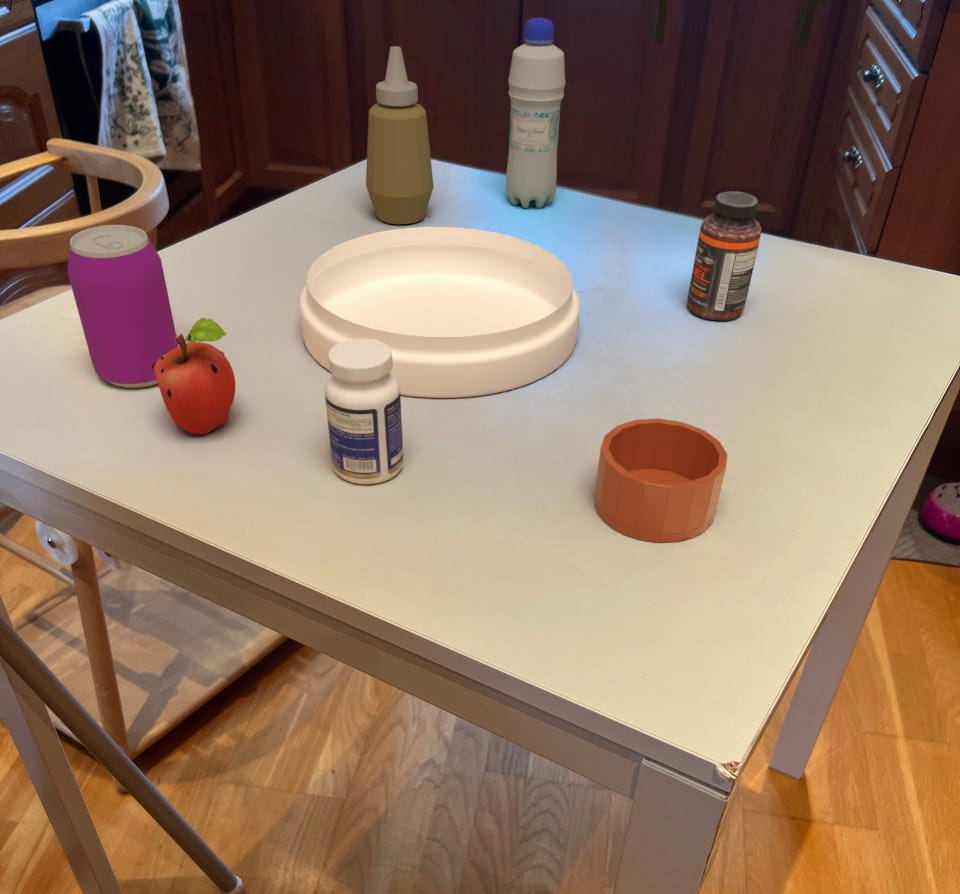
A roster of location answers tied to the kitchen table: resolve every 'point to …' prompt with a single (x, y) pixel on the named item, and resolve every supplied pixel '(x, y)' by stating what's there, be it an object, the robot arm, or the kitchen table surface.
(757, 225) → the supplement bottle
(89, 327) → the beverage can
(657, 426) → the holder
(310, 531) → the kitchen table surface
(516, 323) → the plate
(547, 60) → the bottle
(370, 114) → the squeeze bottle
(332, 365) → the pill bottle
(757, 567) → the kitchen table surface
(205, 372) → the apple
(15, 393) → the kitchen table surface
